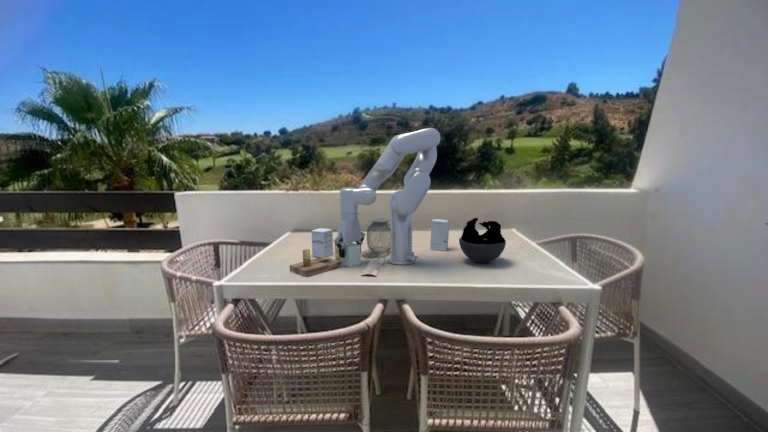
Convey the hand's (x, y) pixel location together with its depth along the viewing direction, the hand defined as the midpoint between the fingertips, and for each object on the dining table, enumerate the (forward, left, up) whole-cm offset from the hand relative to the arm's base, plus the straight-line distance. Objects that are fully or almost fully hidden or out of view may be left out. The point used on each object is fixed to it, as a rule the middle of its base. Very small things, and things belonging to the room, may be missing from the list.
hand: (350, 255), depth 169 cm
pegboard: (+6, +15, -4) cm, 16 cm away
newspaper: (-12, -3, -5) cm, 13 cm away
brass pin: (+10, -1, -4) cm, 10 cm away
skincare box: (-13, -47, -4) cm, 50 cm away
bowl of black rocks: (-40, -41, -4) cm, 58 cm away
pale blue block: (0, 0, -4) cm, 4 cm away
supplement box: (+21, 0, -4) cm, 21 cm away
